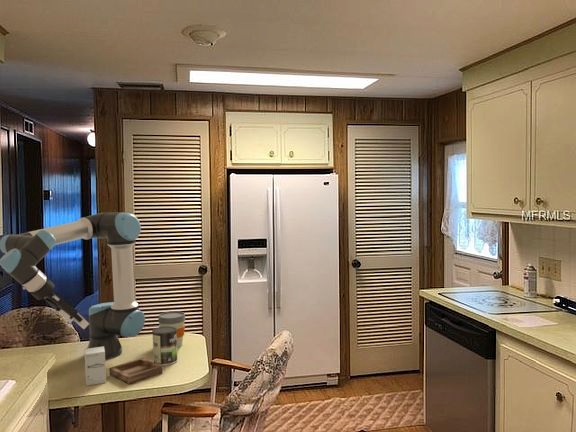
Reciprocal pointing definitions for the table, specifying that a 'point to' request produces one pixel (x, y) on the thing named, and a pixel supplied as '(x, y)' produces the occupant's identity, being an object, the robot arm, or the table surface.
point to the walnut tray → (135, 371)
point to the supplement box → (95, 365)
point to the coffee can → (165, 345)
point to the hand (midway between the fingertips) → (79, 323)
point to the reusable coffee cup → (174, 323)
